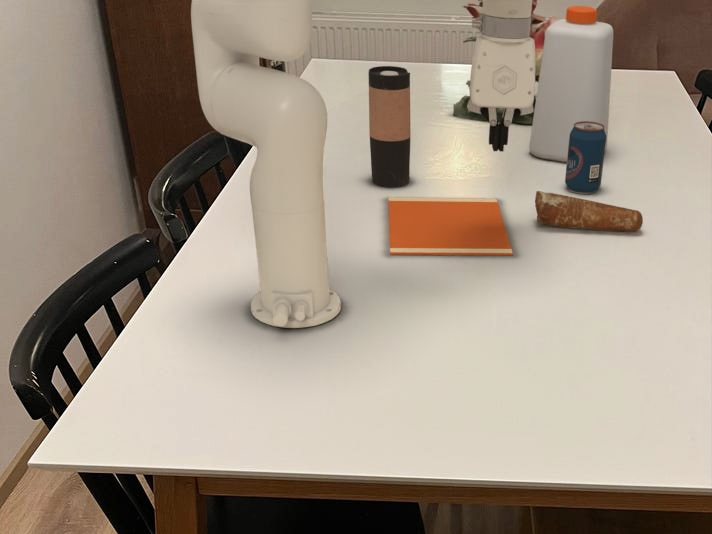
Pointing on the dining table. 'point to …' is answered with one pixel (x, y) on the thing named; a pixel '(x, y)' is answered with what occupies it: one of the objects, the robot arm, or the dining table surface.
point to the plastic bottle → (571, 81)
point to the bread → (584, 213)
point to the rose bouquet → (538, 35)
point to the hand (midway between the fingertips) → (497, 148)
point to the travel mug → (389, 125)
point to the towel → (447, 227)
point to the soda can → (585, 157)
